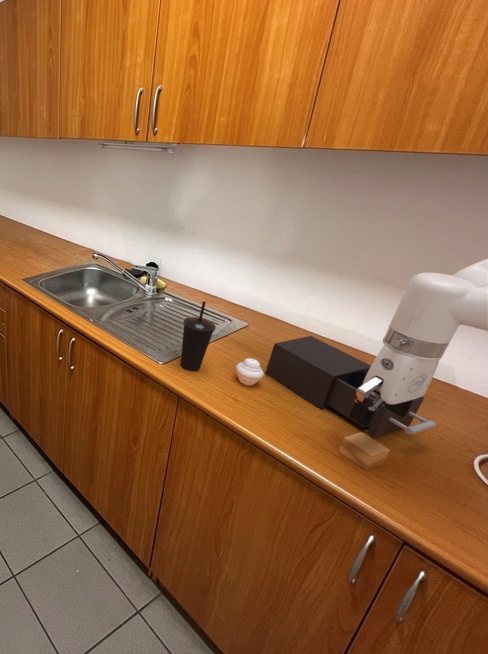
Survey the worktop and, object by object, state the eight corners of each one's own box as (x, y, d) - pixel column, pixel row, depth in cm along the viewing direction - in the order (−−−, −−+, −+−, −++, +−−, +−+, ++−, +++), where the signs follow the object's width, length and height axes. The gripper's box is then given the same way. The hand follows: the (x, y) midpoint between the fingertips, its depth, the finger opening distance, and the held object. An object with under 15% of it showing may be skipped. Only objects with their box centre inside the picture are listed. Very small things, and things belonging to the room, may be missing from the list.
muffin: (227, 376, 105) (233, 354, 103) (247, 373, 106) (253, 351, 104) (245, 391, 100) (252, 368, 97) (266, 387, 101) (273, 364, 98)
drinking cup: (175, 371, 108) (189, 306, 100) (174, 356, 114) (186, 294, 106) (207, 377, 105) (223, 310, 97) (203, 361, 112) (218, 297, 104)
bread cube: (382, 464, 79) (390, 450, 77) (364, 470, 77) (371, 456, 76) (355, 445, 83) (361, 431, 82) (337, 451, 82) (343, 437, 80)
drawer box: (358, 399, 96) (373, 366, 93) (320, 409, 93) (333, 376, 90) (300, 365, 109) (310, 335, 106) (264, 373, 106) (274, 343, 102)
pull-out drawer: (434, 439, 83) (450, 410, 80) (396, 452, 80) (411, 422, 77) (343, 388, 99) (354, 362, 96) (309, 397, 96) (319, 370, 93)
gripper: (406, 361, 64) (366, 441, 71) (474, 345, 69) (431, 421, 75) (355, 338, 71) (323, 412, 77) (420, 324, 75) (385, 396, 82)
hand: (376, 417), depth 76 cm, fingers open, 9 cm apart
